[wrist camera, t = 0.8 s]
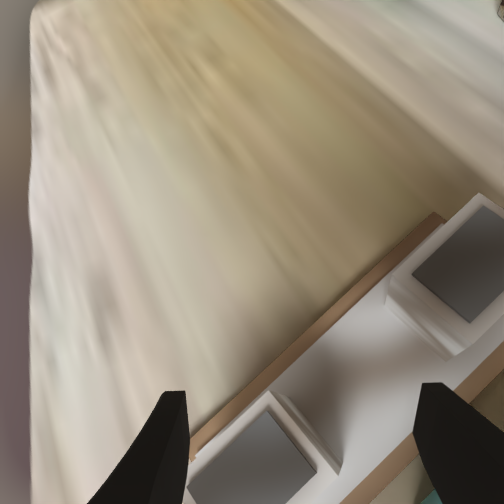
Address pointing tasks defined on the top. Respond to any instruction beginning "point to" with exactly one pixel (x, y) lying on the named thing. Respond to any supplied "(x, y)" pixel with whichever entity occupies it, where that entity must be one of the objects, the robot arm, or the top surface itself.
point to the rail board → (363, 374)
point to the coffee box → (501, 10)
